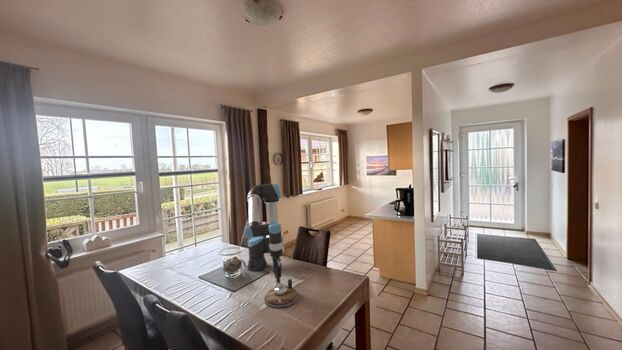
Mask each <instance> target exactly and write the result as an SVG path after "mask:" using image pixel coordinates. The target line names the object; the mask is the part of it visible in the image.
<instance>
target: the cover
mask: <svg viewBox="0 0 622 350" xmlns="http://www.w3.org/2000/svg"><path fill="white" fill-rule="evenodd" d="M287 286H288V285H287V284H283V282H280V283H279V284H278V285H277V286H276V285H275V286H274V287H273V288H274V294H275V295H276V296H283V295H286V294H287Z"/></svg>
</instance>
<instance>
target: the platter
mask: <svg viewBox="0 0 622 350" xmlns="http://www.w3.org/2000/svg"><path fill="white" fill-rule="evenodd" d="M286 286H287V294H286V295H283V296H276V295H275V294H274V287H273V288H271V289H270V290H268V291H267V292H266V293H265V296H266V300H267V302H268V303H270V304H273V305H283V304H287V303H290V302H292V301H293V300H294V299H295V298H296V296H297V294H296V292H297V290H296V288H294V287H293V280H292V278H289V279H288V280H287V285H286Z"/></svg>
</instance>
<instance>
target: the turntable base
mask: <svg viewBox="0 0 622 350" xmlns="http://www.w3.org/2000/svg"><path fill="white" fill-rule="evenodd" d="M296 294H297V296H296V298H295V299H294V300H293V301H292V302H290V303H287V304H283V305H273V304H270V303H268V302H267V300H266V295H265V296H264V298H263V300H264V304H265V305H266V306H267V307H269V308H272V309H283V308H289V307H291V306H293V305H294V304H296V303H297V302H298V300H299V294H298V292H297V291H296Z"/></svg>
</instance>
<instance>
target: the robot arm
mask: <svg viewBox="0 0 622 350" xmlns="http://www.w3.org/2000/svg"><path fill="white" fill-rule="evenodd" d="M280 190H281V189H280V186H279V184H277V183H268V184H267V183H266V184H257V185H254V186H253V187H252V188H251V189H250V190H249V191H248V194H247V196H246V201H247V203H248V205H247V206H248V217H247V218H248V221H247V222H248V225H245V226H244V237H245V238H246V239H249V238H250V239H249V240H248V241H247V242H248V245H247V247H248V262H247V270H248V271H250V272H259V271H262V270H265V269H266V268H267V267H268V262H267V260H266V257H265V254H269V255H270V257H271V259H272V266H273V273H274V278H275V286H277V285H278V284H279V283H281V277H282V262H281V261H282V260H281V257H282V256H283V248H284V247H283V246H284V237H283V236H282V226H281V223H279V214H278V212H279V211H278V203H279V201H280V199H281V198H282V195H281V191H280ZM261 201H263V202H264V204H265V208H266V223H265V224H261V220H260V219H261V217H260V216H261V215H260V214H261V213H260V202H261Z"/></svg>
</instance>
